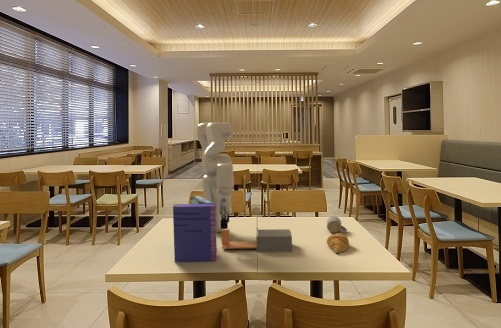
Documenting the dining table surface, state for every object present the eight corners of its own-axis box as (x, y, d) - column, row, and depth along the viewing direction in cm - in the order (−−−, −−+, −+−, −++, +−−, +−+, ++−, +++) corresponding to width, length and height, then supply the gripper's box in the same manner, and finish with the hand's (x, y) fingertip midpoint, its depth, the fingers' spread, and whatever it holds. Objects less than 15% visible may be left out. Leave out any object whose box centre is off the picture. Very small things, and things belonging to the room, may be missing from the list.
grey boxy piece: (256, 251, 167) (256, 235, 166) (256, 243, 179) (256, 227, 179) (291, 251, 167) (291, 234, 166) (289, 243, 179) (289, 227, 178)
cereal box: (216, 257, 160) (215, 203, 158) (216, 261, 156) (214, 205, 153) (176, 258, 160) (175, 203, 158) (174, 262, 155) (172, 206, 153)
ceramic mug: (326, 233, 196) (326, 219, 195) (326, 229, 204) (327, 215, 203) (347, 234, 193) (347, 220, 192) (346, 230, 201) (347, 216, 200)
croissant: (343, 263, 162) (352, 248, 160) (323, 251, 163) (331, 236, 162) (344, 247, 182) (352, 233, 180) (325, 236, 184) (333, 223, 182)
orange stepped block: (221, 248, 169) (220, 232, 168) (222, 242, 178) (222, 227, 177) (256, 248, 169) (256, 232, 168) (256, 242, 177) (256, 227, 177)
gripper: (231, 193, 163) (231, 231, 165) (233, 186, 180) (234, 220, 182) (214, 193, 163) (215, 231, 165) (218, 186, 180) (218, 220, 182)
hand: (225, 225), depth 173 cm, fingers open, 9 cm apart
